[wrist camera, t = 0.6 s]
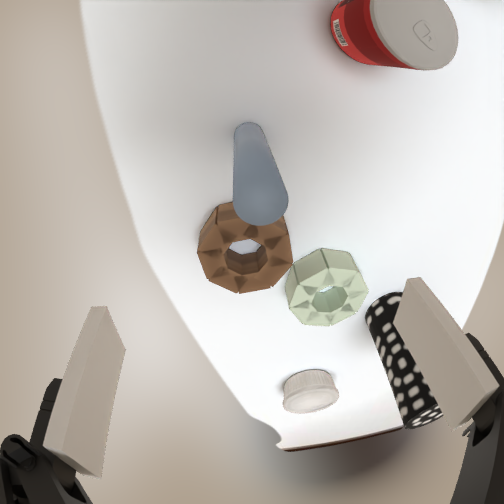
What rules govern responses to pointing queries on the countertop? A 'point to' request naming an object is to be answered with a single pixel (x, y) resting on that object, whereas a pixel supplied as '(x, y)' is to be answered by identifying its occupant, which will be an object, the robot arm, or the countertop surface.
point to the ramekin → (309, 392)
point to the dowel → (256, 178)
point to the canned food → (396, 32)
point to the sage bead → (319, 277)
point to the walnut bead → (248, 265)
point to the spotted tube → (401, 365)
